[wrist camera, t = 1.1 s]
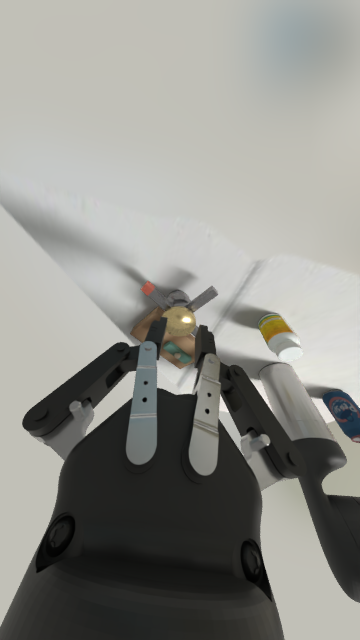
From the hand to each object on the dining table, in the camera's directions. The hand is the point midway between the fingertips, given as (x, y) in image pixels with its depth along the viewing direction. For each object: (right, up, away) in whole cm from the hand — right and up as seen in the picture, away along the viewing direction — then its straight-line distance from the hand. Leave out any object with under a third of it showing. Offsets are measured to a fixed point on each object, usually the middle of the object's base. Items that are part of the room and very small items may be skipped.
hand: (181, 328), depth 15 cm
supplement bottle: (+20, 0, +19) cm, 28 cm away
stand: (-3, -4, +25) cm, 25 cm away
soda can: (+50, -24, +34) cm, 65 cm away
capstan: (0, +4, +18) cm, 19 cm away
